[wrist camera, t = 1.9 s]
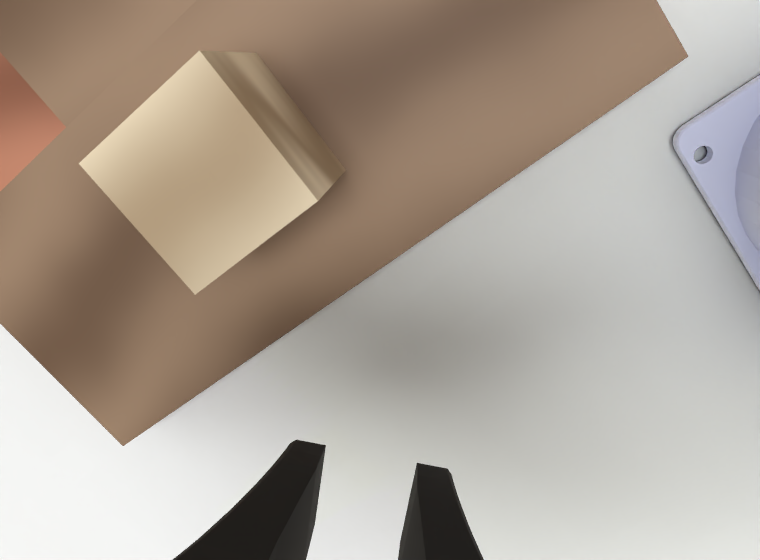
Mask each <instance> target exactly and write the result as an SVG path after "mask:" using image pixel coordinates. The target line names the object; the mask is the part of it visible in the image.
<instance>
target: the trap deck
mask: <svg viewBox="0 0 760 560" xmlns="http://www.w3.org/2000/svg"><path fill="white" fill-rule="evenodd" d="M198 51H222V52H245V53H257V54H258V56H259V57H260V58H261V60H262V61H263V62H264V64H265V65H266V66H267V67H268V69H269V70H270V71H271V73H272V74H273V75H274V77H275V78H276V79H277V81H278V82H279V83H280V84H281V86H282V87H283V88H284V90H285V91H286V92H287V94H288V95H289V96H290V98H291V99H292V100H293V101H294V103H295V104H296V105H297V107H298V108H299V109H300V111H301V112H302V113H303V115H304V116H305V117H306V118H307V120H308V121H309V122H310V124H311V125H312V126H313V128H314V129H315V130H316V132H317V133H318V134H319V135H320V137H321V138H322V139H323V141H324V142H325V143H326V145H327V146H328V147H329V149H330V150H331V151H332V153H333V154H334V155H335V156H336V158H337V159H338V160H339V162H340V163H341V164H342V166H343V167H344V168H345V170H346V171H345V172H344V173H343V174H342V175H341V176H340V177H339V178H338V180H337V181H336V182H335V183H334V184H333V185H332V186H331V187H330V188H329V190H328V191H327V192H326V193H325V194H324V195H323V196H322V197H321V198H320V199H319V201H317V202H316V203H315V204H314V205H312V206H311V207H310V208H308V209H307V210H306V211H304V212H303V213H302V214H300V215H299V216H298V217H296V218H295V219H294V220H293V221H291V222H290V223H289V224H287V225H286V226H285V227H283V228H282V229H281V230H279V231H278V232H277V233H276V234H274V235H273V236H272V237H270V238H269V239H268V240H266V241H265V242H264V243H262V244H261V245H260V246H258V247H257V248H256V249H255V250H253V251H252V252H251V253H249V254H248V255H247V256H245V257H244V258H243V259H241V260H240V261H239V262H237V263H236V264H235V265H234V266H232V267H231V268H230V269H228V270H227V271H226V272H224V273H223V274H222V275H220V276H219V277H218V278H217V279H215V280H214V281H213V282H211V283H210V284H209V285H207V286H206V287H205V288H203V289H202V290H201V291H199V292H198V293H197V294H196V295H195V294H194V293H193V292H192V291H191V290H190V288H189V287H188V286H187V285H186V284H185V283H184V282H183V281H182V279H181V278H180V277H179V276H178V275H177V274H176V273H175V272H174V270H173V269H172V268H171V267H170V266H169V265H168V264H167V263H166V261H165V260H164V259H163V258H162V257H161V256H160V255H159V254H158V252H157V251H156V250H155V249H154V248H153V247H152V246H151V245H150V243H149V242H148V241H147V240H146V239H145V238H144V237H143V236H142V234H141V233H140V232H139V231H138V230H137V229H136V228H135V227H134V225H133V224H132V223H131V222H130V221H129V220H128V219H127V218H126V216H125V215H124V214H123V213H122V212H121V211H120V210H119V209H118V207H117V206H116V205H115V204H114V203H113V202H112V201H111V200H110V198H109V197H108V196H107V195H106V194H105V193H104V192H103V190H102V189H101V188H100V187H99V186H98V185H97V184H96V183H95V181H94V180H93V179H92V178H91V177H90V176H89V175H88V174H87V172H86V171H85V170H84V169H83V168H82V167H81V166H80V165H79V163H80V162H81V161H82V160H83V159H84V158H85V157H86V156H87V155H88V154H89V153H90V152H91V151H93V150H94V149H95V148H96V147H97V146H98V145H99V144H100V143H101V142H102V141H103V140H104V139H105V138H106V137H108V136H109V135H110V134H111V133H112V132H113V131H114V130H115V129H116V128H117V127H118V126H119V125H120V124H121V123H122V122H124V121H125V120H126V119H127V118H128V117H129V116H130V115H131V114H132V113H133V112H134V111H135V110H136V109H137V108H139V107H140V106H141V105H142V104H143V103H144V102H145V101H146V100H147V99H148V98H149V97H150V96H151V95H152V94H153V93H155V92H156V91H157V90H158V89H159V88H160V87H161V86H162V85H163V84H164V83H165V82H166V81H167V80H168V79H169V78H171V77H172V76H173V75H174V74H175V73H176V72H177V71H178V70H179V69H180V68H181V67H182V66H183V65H184V64H186V63H187V62H188V61H189V60H190V59H191V58H192V57H193V56H194V55H195V54H196V53H197V52H198ZM687 57H688V55H687V53H686V51H685V49H684V48H683V46H682V44H681V42H680V41H679V39H678V37H677V35H676V34H675V32H674V30H673V28H672V27H671V25H670V23H669V21H668V20H667V18H666V16H665V14H664V13H663V11H662V9H661V7H660V6H659V4H658V2H657V0H0V324H1V325H2V326H3V327H4V328H5V329H6V330H7V331H8V332H9V333H10V334H11V335H12V336H13V337H14V338H15V339H16V340H17V341H18V342H19V343H20V344H21V345H22V346H23V347H24V348H25V349H26V350H27V351H28V352H29V353H30V354H31V355H32V356H33V357H34V358H35V359H36V360H37V361H38V362H39V363H40V364H41V365H42V366H43V367H44V368H45V369H46V370H47V371H48V372H49V373H50V374H51V375H52V376H53V377H54V378H55V379H56V380H57V381H58V382H59V383H60V384H61V385H62V386H63V387H64V388H65V389H66V390H67V391H68V392H69V393H70V394H71V395H72V396H73V397H74V398H75V399H76V400H77V401H78V402H79V403H80V404H81V405H82V406H83V407H84V408H85V409H86V410H87V411H88V412H89V413H90V414H91V415H92V416H93V417H94V418H95V419H96V420H97V421H98V422H99V423H100V424H101V425H102V426H103V427H104V428H105V429H106V430H107V431H108V432H109V433H110V434H111V435H112V436H113V437H114V438H115V439H116V440H117V441H118V442H119V443H120V444H121V445H122V446H124V445H125V444H127V443H128V442H130V441H131V440H133V439H134V438H136V437H137V436H138V435H140V434H141V433H143V432H144V431H146V430H147V429H149V428H150V427H152V426H153V425H154V424H156V423H157V422H159V421H160V420H162V419H163V418H165V417H166V416H167V415H169V414H170V413H172V412H173V411H175V410H176V409H178V408H179V407H181V406H182V405H183V404H185V403H186V402H188V401H189V400H191V399H192V398H194V397H195V396H197V395H198V394H199V393H201V392H202V391H204V390H205V389H207V388H208V387H210V386H211V385H212V384H214V383H215V382H217V381H218V380H220V379H221V378H223V377H224V376H226V375H227V374H228V373H230V372H231V371H233V370H234V369H236V368H237V367H239V366H240V365H241V364H243V363H244V362H246V361H247V360H249V359H250V358H252V357H253V356H255V355H256V354H257V353H259V352H260V351H262V350H263V349H265V348H266V347H268V346H269V345H270V344H272V343H273V342H275V341H276V340H278V339H279V338H281V337H282V336H284V335H285V334H286V333H288V332H289V331H291V330H292V329H294V328H295V327H297V326H298V325H300V324H301V323H302V322H304V321H305V320H307V319H308V318H310V317H311V316H313V315H314V314H315V313H317V312H318V311H320V310H321V309H323V308H324V307H326V306H327V305H329V304H330V303H331V302H333V301H334V300H336V299H337V298H339V297H340V296H342V295H343V294H344V293H346V292H347V291H349V290H350V289H352V288H353V287H355V286H356V285H358V284H359V283H360V282H362V281H363V280H365V279H366V278H368V277H369V276H371V275H372V274H374V273H375V272H376V271H378V270H379V269H381V268H382V267H384V266H385V265H387V264H388V263H389V262H391V261H392V260H394V259H395V258H397V257H398V256H400V255H401V254H403V253H404V252H405V251H407V250H408V249H410V248H411V247H413V246H414V245H416V244H417V243H418V242H420V241H421V240H423V239H424V238H426V237H427V236H429V235H430V234H432V233H433V232H434V231H436V230H437V229H439V228H440V227H442V226H443V225H445V224H446V223H447V222H449V221H450V220H452V219H453V218H455V217H456V216H458V215H459V214H461V213H462V212H463V211H465V210H466V209H468V208H469V207H471V206H472V205H474V204H475V203H477V202H478V201H479V200H481V199H482V198H484V197H485V196H487V195H488V194H490V193H491V192H492V191H494V190H495V189H497V188H498V187H500V186H501V185H503V184H504V183H506V182H507V181H508V180H510V179H511V178H513V177H514V176H516V175H517V174H519V173H520V172H521V171H523V170H524V169H526V168H527V167H529V166H530V165H532V164H533V163H535V162H536V161H537V160H539V159H540V158H542V157H543V156H545V155H546V154H548V153H549V152H551V151H552V150H553V149H555V148H556V147H558V146H559V145H561V144H562V143H564V142H565V141H566V140H568V139H569V138H571V137H572V136H574V135H575V134H577V133H578V132H580V131H581V130H582V129H584V128H585V127H587V126H588V125H590V124H591V123H593V122H594V121H595V120H597V119H598V118H600V117H601V116H603V115H604V114H606V113H607V112H609V111H610V110H611V109H613V108H614V107H616V106H617V105H619V104H620V103H622V102H623V101H624V100H626V99H627V98H629V97H630V96H632V95H633V94H635V93H636V92H638V91H639V90H640V89H642V88H643V87H645V86H646V85H648V84H649V83H651V82H652V81H654V80H655V79H656V78H658V77H659V76H661V75H662V74H664V73H665V72H667V71H668V70H669V69H671V68H672V67H674V66H675V65H677V64H678V63H680V62H681V61H683V60H684V59H685V58H687Z"/></svg>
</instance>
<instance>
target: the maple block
mask: <svg viewBox="0 0 760 560" xmlns="http://www.w3.org/2000/svg"><path fill="white" fill-rule="evenodd" d="M79 165H80V166H81V167H82V168H83V169H84V170H85V171H86V172H87V174H88V175H89V176H90V177H91V178H92V179H93V180H94V181H95V183H96V184H97V185H98V186H99V187H100V188H101V189H102V190H103V192H104V193H105V194H106V195H107V196H108V197H109V198H110V200H111V201H112V202H113V203H114V204H115V205H116V206H117V207H118V209H119V210H120V211H121V212H122V213H123V214H124V215H125V216H126V218H127V219H128V220H129V221H130V222H131V223H132V224H133V225H134V227H135V228H136V229H137V230H138V231H139V232H140V233H141V234H142V236H143V237H144V238H145V239H146V240H147V241H148V242H149V243H150V245H151V246H152V247H153V248H154V249H155V250H156V251H157V252H158V254H159V255H160V256H161V257H162V258H163V259H164V260H165V261H166V263H167V264H168V265H169V266H170V267H171V268H172V269H173V270H174V272H175V273H176V274H177V275H178V276H179V277H180V278H181V279H182V281H183V282H184V283H185V284H186V285H187V286H188V287H189V288H190V290H191V291H192V292H193V293H194V294H195V295H196V294H197V293H198V292H199V291H201V290H202V289H203V288H205V287H206V286H207V285H209V284H210V283H211V282H213V281H214V280H215V279H217V278H218V277H219V276H220V275H222V274H223V273H224V272H226V271H227V270H228V269H230V268H231V267H232V266H234V265H235V264H236V263H237V262H239V261H240V260H241V259H243V258H244V257H245V256H247V255H248V254H249V253H251V252H252V251H253V250H255V249H256V248H257V247H258V246H260V245H261V244H262V243H264V242H265V241H266V240H268V239H269V238H270V237H272V236H273V235H274V234H276V233H277V232H278V231H279V230H281V229H282V228H283V227H285V226H286V225H287V224H289V223H290V222H291V221H293V220H294V219H295V218H296V217H298V216H299V215H300V214H302V213H303V212H304V211H306V210H307V209H308V208H310V207H311V206H312V205H314V204H315V203H316V202H317V201H319V199H320V198H321V197H322V196H323V195H324V194H325V193H326V192H327V191H328V190H329V188H330V187H331V186H332V185H333V184H334V183H335V182H336V181H337V180H338V178H339V177H340V176H341V175H342V174H343V173H344V172H345V171H346V170H345V168H344V167H343V166H342V164H341V163H340V162H339V160H338V159H337V158H336V156H335V155H334V154H333V153H332V151H331V150H330V149H329V147H328V146H327V145H326V143H325V142H324V141H323V139H322V138H321V137H320V135H319V134H318V133H317V132H316V130H315V129H314V128H313V126H312V125H311V124H310V122H309V121H308V120H307V118H306V117H305V116H304V115H303V113H302V112H301V111H300V109H299V108H298V107H297V105H296V104H295V103H294V101H293V100H292V99H291V98H290V96H289V95H288V94H287V92H286V91H285V90H284V88H283V87H282V86H281V84H280V83H279V82H278V81H277V79H276V78H275V77H274V75H273V74H272V73H271V71H270V70H269V69H268V67H267V66H266V65H265V64H264V62H263V61H262V60H261V58H260V57H259V56H258V54H257V53H245V52H222V51H198V52H197V53H196V54H195V55H194V56H193V57H192V58H191V59H190V60H189V61H188V62H187V63H186V64H184V65H183V66H182V67H181V68H180V69H179V70H178V71H177V72H176V73H175V74H174V75H173V76H172V77H171V78H169V79H168V80H167V81H166V82H165V83H164V84H163V85H162V86H161V87H160V88H159V89H158V90H157V91H156V92H155V93H153V94H152V95H151V96H150V97H149V98H148V99H147V100H146V101H145V102H144V103H143V104H142V105H141V106H140V107H139V108H137V109H136V110H135V111H134V112H133V113H132V114H131V115H130V116H129V117H128V118H127V119H126V120H125V121H124V122H122V123H121V124H120V125H119V126H118V127H117V128H116V129H115V130H114V131H113V132H112V133H111V134H110V135H109V136H108V137H106V138H105V139H104V140H103V141H102V142H101V143H100V144H99V145H98V146H97V147H96V148H95V149H94V150H93V151H91V152H90V153H89V154H88V155H87V156H86V157H85V158H84V159H83V160H82V161H81V162H80V163H79Z"/></svg>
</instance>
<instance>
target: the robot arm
mask: <svg viewBox="0 0 760 560" xmlns="http://www.w3.org/2000/svg"><path fill="white" fill-rule="evenodd" d="M673 146H674V149H675V151H676V153H677V154H678V156H679V158H680V159H681V161H682V163H683V164H684V166H685V168H686V169H687V171H688V173H689V174H690V176H691V178H692V179H693V181H694V182H695V184H696V186H697V187H698V189H699V191H700V192H701V194H702V196H703V197H704V199H705V201H706V202H707V204H708V206H709V207H710V209H711V211H712V212H713V214H714V216H715V217H716V219H717V221H718V222H719V224H720V226H721V227H722V229H723V231H724V232H725V234H726V236H727V237H728V239H729V241H730V242H731V244H732V246H733V247H734V249H735V251H736V252H737V254H738V256H739V257H740V259H741V260H742V262H743V264H744V265H745V267H746V269H747V270H748V272H749V274H750V275H751V277H752V279H753V280H754V282H755V284H756V285H757V287H758V289H759V290H760V75H759V76H757V77H755V78H754V79H752V80H751V81H749V82H748V83H746V84H745V85H743V86H742V87H740V88H739V89H737V90H736V91H734V92H733V93H731V94H730V95H728V96H726V97H725V98H723V99H722V100H720V101H719V102H717V103H716V104H714V105H713V106H711V107H710V108H708V109H707V110H705V111H704V112H702V113H701V114H699V115H697V116H696V117H694V118H693V119H691V120H690V121H688V122H687V123H685V124H684V125H682V126H681V127H680V128H679V129H678V130H677V131H676V133H675V135H674V137H673ZM701 146H705V147H706V148H707V155H706V157H705V158H704V159H703V160H701V161H698V162H696V161H695V160H694V153H695V151H696V150H697V149H698V148H699V147H701ZM325 447H326V445H321V444H316V443H310V442H305V441H300V440H295V441H293V442H292V443H290V444H289V446H288V447H287V448H286V450H285V451H284V452H283V454H282V455H281V456H280V457H279V459H278V460H277V461H276V462H275V463H274V465H273V466H272V467H271V468H270V469H269V470H268V471H267V473H266V474H265V475H264V476H263V477H262V478H261V479H260V480H259V481H258V482H257V483H256V485H255V486H254V487H253V488H252V489H251V490H250V491H249V492H248V493H247V494H246V495H245V496H244V497H243V498H242V499H241V500H240V501H239V502H238V503H237V504H236V505H235V506H234V507H233V508H232V509H231V510H230V511H229V512H228V513H226V514H225V515H224V516H223V517H222V518H221V519H220V520H219V521H218V522H217V523H215V524H214V525H213V526H212V527H211V528H210V529H209V530H208V531H207V532H206V533H204V534H203V535H202V536H201V537H200V538H199V539H198V540H196V541H195V542H194V543H193V544H192V545H190V546H189V547H188V548H187V549H186V550H184V551H183V552H182V553H181V554H179V555H178V556H177V557H176V558H174V559H173V560H306V557H307V553H308V549H309V545H310V541H311V537H312V533H313V529H314V525H315V519H316V511H317V504H318V497H319V490H320V483H321V476H322V469H323V462H324V454H325ZM398 560H484V559H483V557H482V555H481V553H480V550H479V548H478V546H477V544H476V541H475V539H474V537H473V535H472V532H471V530H470V527H469V525H468V522H467V520H466V517H465V515H464V512H463V509H462V507H461V504H460V501H459V498H458V495H457V492H456V489H455V486H454V482H453V479H452V475H451V473H450V472H449V470H448V469H446V468H441V467H435V466H430V465H425V464H420V463H417V466H416V470H415V475H414V480H413V484H412V489H411V494H410V498H409V503H408V508H407V512H406V517H405V522H404V527H403V531H402V536H401V541H400V549H399V557H398Z"/></svg>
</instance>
